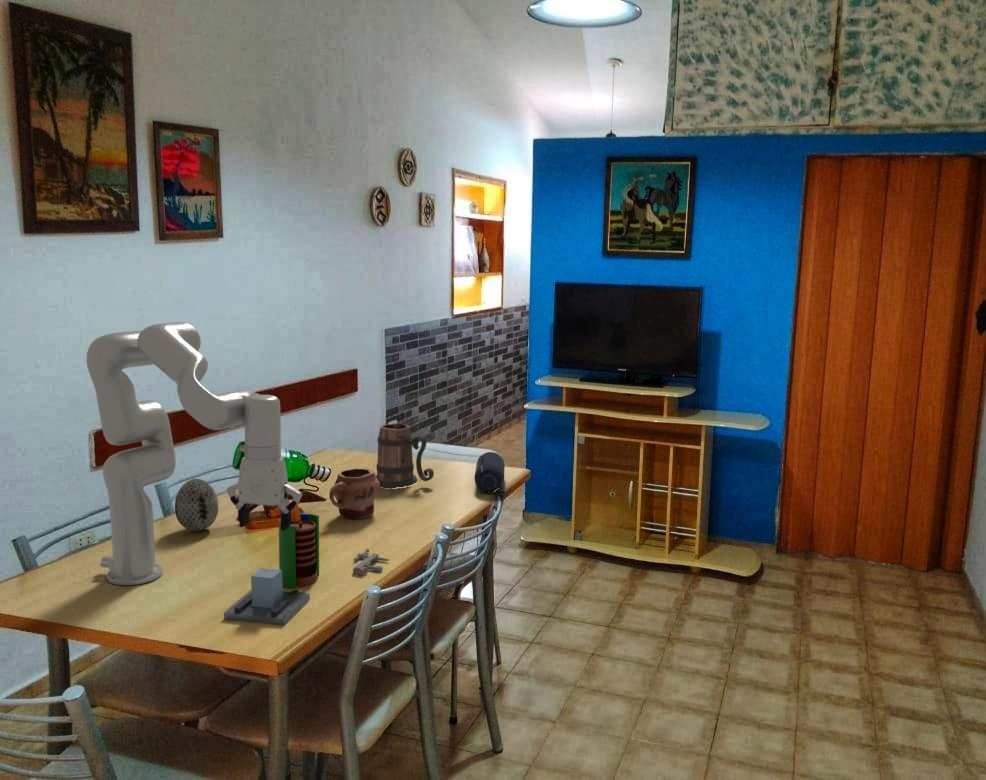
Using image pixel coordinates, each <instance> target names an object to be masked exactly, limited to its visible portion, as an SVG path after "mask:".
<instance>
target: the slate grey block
mask: <svg viewBox="0 0 986 780" xmlns="http://www.w3.org/2000/svg"><path fill="white" fill-rule="evenodd" d="M250 576H251V577H250V582H251V584H250V585H251V589H252V606H255V607H265V608H274V607H275V606H276V605H277V604H278V603H279V602H280V601H281V600H283V591H284V589H283V586H282V570H279V569H277V568H276V569H275V568H264V567H262V568H259V569H258V570H257V571H256V572H254V573H253V574H252V575H250Z"/></svg>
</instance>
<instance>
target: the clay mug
mask: <svg viewBox="0 0 986 780" xmlns="http://www.w3.org/2000/svg"><path fill="white" fill-rule="evenodd" d="M376 475H377V473H376V472H375V470H373V469H370V468H351V469H346V470H343V471H340V472H339V473H338V474H337V478H336V480H335V482H334V484H333V485H332V486H331V488H330V490H329V498H328V499H329V500H330V501H331V503H332V505H333V506H334V507H336V508H338V512H339V514H340V516H341V517H343V518H344V519H350V520H359V519H360V520H361V519H365V518H368V517H371V516H372V515H374V513H375V505H374V504H375V498H376V496H377V494H378V493H379V490H380V489H381V488H380V483H379V481H378V480H377V477H376Z"/></svg>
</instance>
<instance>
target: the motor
mask: <svg viewBox="0 0 986 780" xmlns="http://www.w3.org/2000/svg"><path fill="white" fill-rule="evenodd" d="M292 500H293V499H288V501H289V502H290V503H291V502H292ZM278 559H279V560H278V566H279V567H278V570H282V588H285V589H291V590H296V588H304V587H309V586H312V585H314V584H316V583H317V581H318V577H320V515H318V514H316V513H309V512H301V511H300V507H299V503H298V504H297V505H296V506H295V507H294V508H293V509H292V510H291V525H290V526H289V528H288V529H286V530H285V531H282V530H281V517H280V518H279V519H278Z"/></svg>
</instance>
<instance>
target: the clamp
mask: <svg viewBox="0 0 986 780" xmlns="http://www.w3.org/2000/svg"><path fill="white" fill-rule="evenodd" d="M369 552H370V549H368V548H367V549H365V551H363V552H362V553H357V555H356V556H357V557H354V558H353V561H354V562H356V563H357V562H358V560H359V559H360V560H362V561H361V562H359V563H358V564H357V565H355V566H354V567H353V568H352V574H353V575H354V576H361V577H364V576H365V575H367V574H368V570H369V571H373V572H378V573H381V572H383V566H382V565H368V564H369V563H371V562H374V563H375V562H378V561H382V562H389V561H390V559H389V558H385V557H382V556H381V557H380V555H379V553H372V554H370V555H366V554H367V553H368V554H369Z"/></svg>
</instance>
